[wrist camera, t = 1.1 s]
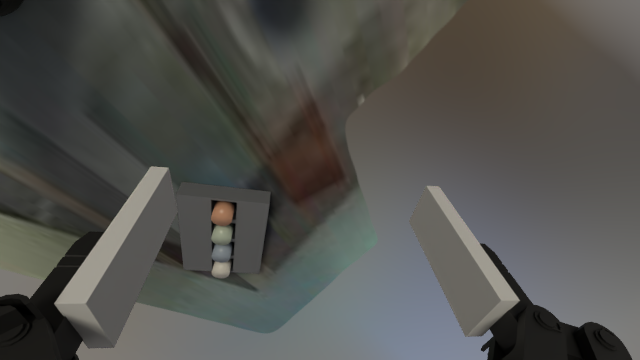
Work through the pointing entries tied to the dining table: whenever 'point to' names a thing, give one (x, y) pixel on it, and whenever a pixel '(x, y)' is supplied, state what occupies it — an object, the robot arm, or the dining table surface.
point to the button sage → (222, 234)
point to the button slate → (222, 252)
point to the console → (199, 227)
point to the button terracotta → (222, 213)
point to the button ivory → (221, 269)
